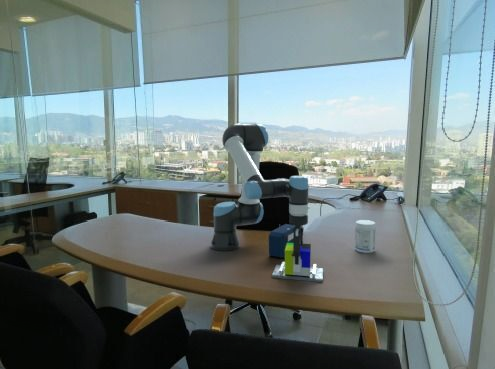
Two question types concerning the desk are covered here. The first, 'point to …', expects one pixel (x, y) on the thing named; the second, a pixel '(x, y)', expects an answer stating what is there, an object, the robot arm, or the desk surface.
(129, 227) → the desk surface
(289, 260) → the puzzle toy
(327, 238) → the desk surface
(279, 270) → the rail plate
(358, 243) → the supplement tub
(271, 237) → the radio
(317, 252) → the desk surface
